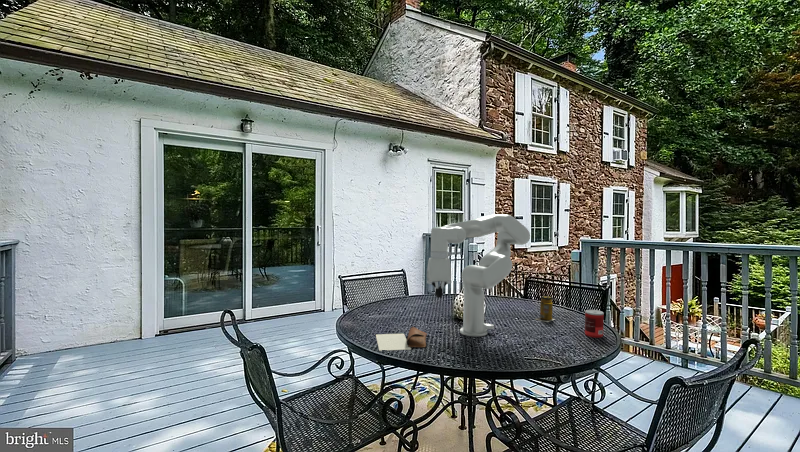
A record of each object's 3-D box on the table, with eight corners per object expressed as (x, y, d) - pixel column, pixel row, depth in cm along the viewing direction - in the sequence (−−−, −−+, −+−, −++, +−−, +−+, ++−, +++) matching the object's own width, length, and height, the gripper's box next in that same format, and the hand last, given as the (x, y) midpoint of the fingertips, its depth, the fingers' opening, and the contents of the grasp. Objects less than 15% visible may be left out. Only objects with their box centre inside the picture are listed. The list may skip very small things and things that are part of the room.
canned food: (602, 334, 184) (603, 310, 183) (603, 339, 176) (604, 314, 176) (584, 331, 187) (585, 308, 186) (584, 336, 180) (585, 312, 179)
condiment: (555, 319, 208) (555, 296, 208) (548, 322, 203) (548, 299, 202) (542, 316, 214) (542, 294, 213) (534, 319, 208) (535, 297, 207)
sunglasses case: (427, 346, 163) (419, 332, 163) (412, 354, 164) (404, 340, 164) (427, 333, 181) (420, 320, 181) (414, 340, 182) (407, 328, 182)
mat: (403, 333, 182) (403, 333, 182) (411, 349, 162) (411, 349, 162) (375, 334, 181) (375, 334, 181) (379, 350, 160) (379, 350, 160)
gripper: (453, 254, 177) (453, 295, 178) (420, 254, 175) (420, 295, 176) (458, 256, 170) (457, 298, 170) (424, 256, 168) (423, 299, 168)
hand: (438, 297), depth 173 cm, fingers closed
